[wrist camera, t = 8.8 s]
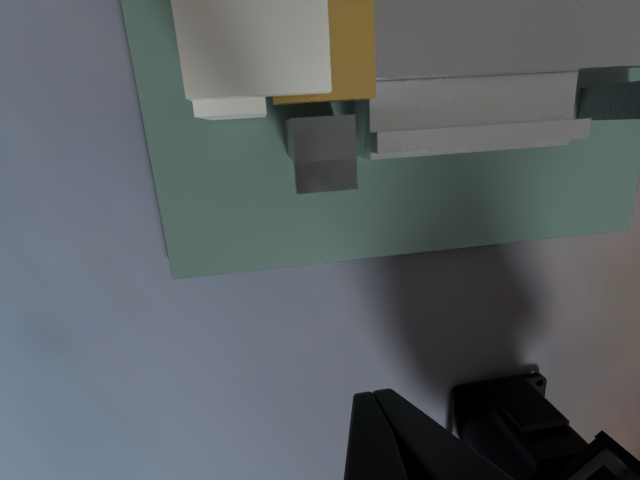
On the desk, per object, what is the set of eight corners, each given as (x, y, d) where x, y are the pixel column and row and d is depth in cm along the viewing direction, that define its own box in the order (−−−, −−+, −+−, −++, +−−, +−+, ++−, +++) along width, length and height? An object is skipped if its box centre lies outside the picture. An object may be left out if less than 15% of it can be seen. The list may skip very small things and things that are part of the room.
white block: (310, 114, 18) (332, 107, 12) (212, 120, 17) (188, 116, 12) (302, -8, 16) (323, -80, 11) (195, -6, 16) (158, -80, 10)
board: (614, 225, 23) (629, 229, 22) (176, 272, 20) (172, 279, 19) (685, -193, 18) (709, -212, 17) (86, -222, 14) (74, -246, 13)
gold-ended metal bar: (679, 83, 17) (726, 78, 15) (272, 106, 15) (274, 103, 13) (702, -31, 16) (756, -50, 14) (260, -27, 13) (260, -50, 12)
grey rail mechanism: (617, 153, 21) (736, 162, 16) (289, 180, 19) (300, 200, 13) (657, -88, 18) (823, -178, 12) (266, -91, 15) (269, -202, 10)
